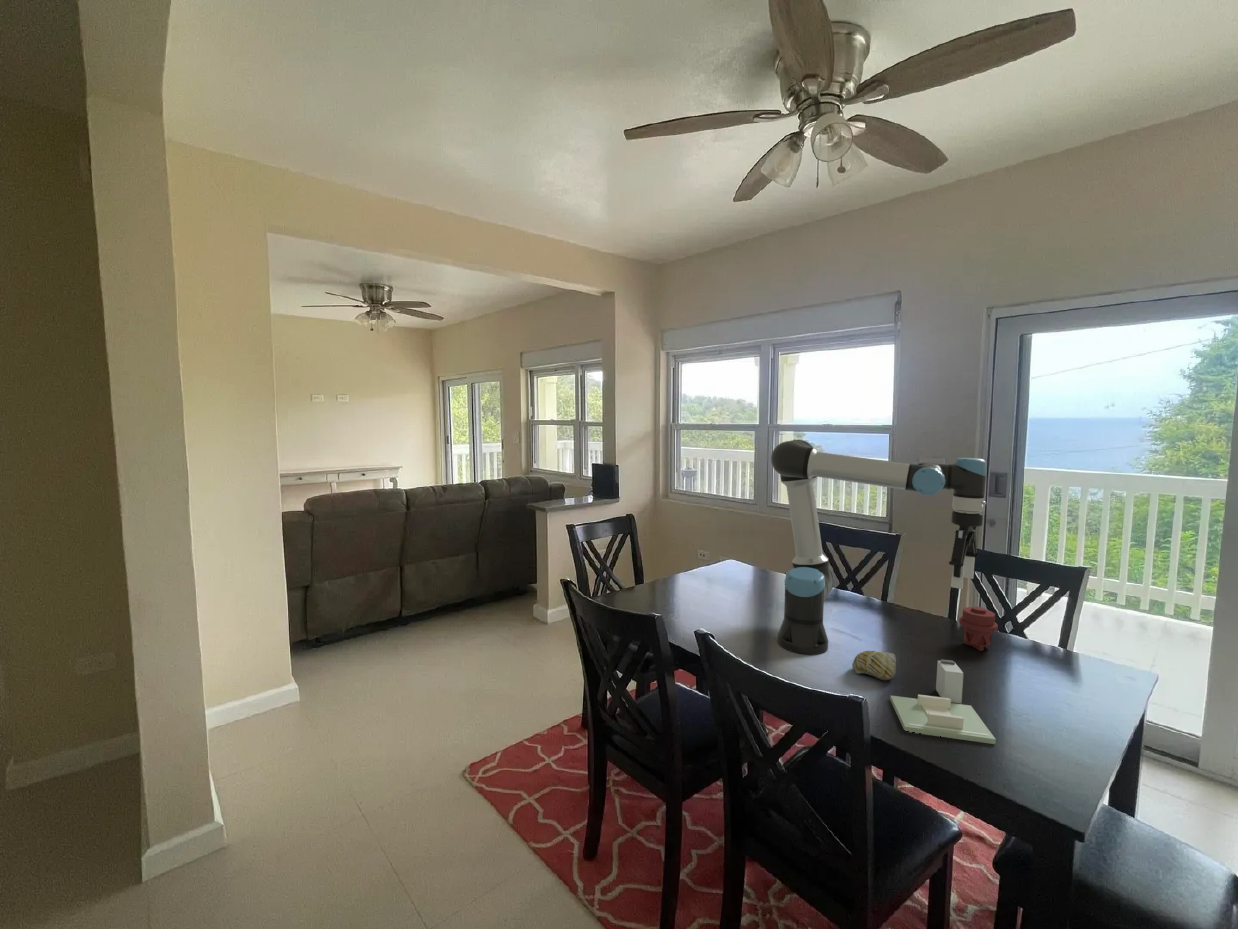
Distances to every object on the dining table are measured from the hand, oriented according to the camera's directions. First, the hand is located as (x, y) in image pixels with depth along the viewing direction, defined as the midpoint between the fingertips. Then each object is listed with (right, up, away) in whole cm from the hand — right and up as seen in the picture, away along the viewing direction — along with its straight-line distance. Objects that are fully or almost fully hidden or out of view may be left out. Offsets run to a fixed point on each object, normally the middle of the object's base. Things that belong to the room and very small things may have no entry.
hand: (962, 582), depth 154 cm
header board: (-25, -26, -30) cm, 47 cm away
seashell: (-29, -24, -8) cm, 39 cm away
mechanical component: (+12, -23, +11) cm, 28 cm away
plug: (-16, -25, -19) cm, 35 cm away
